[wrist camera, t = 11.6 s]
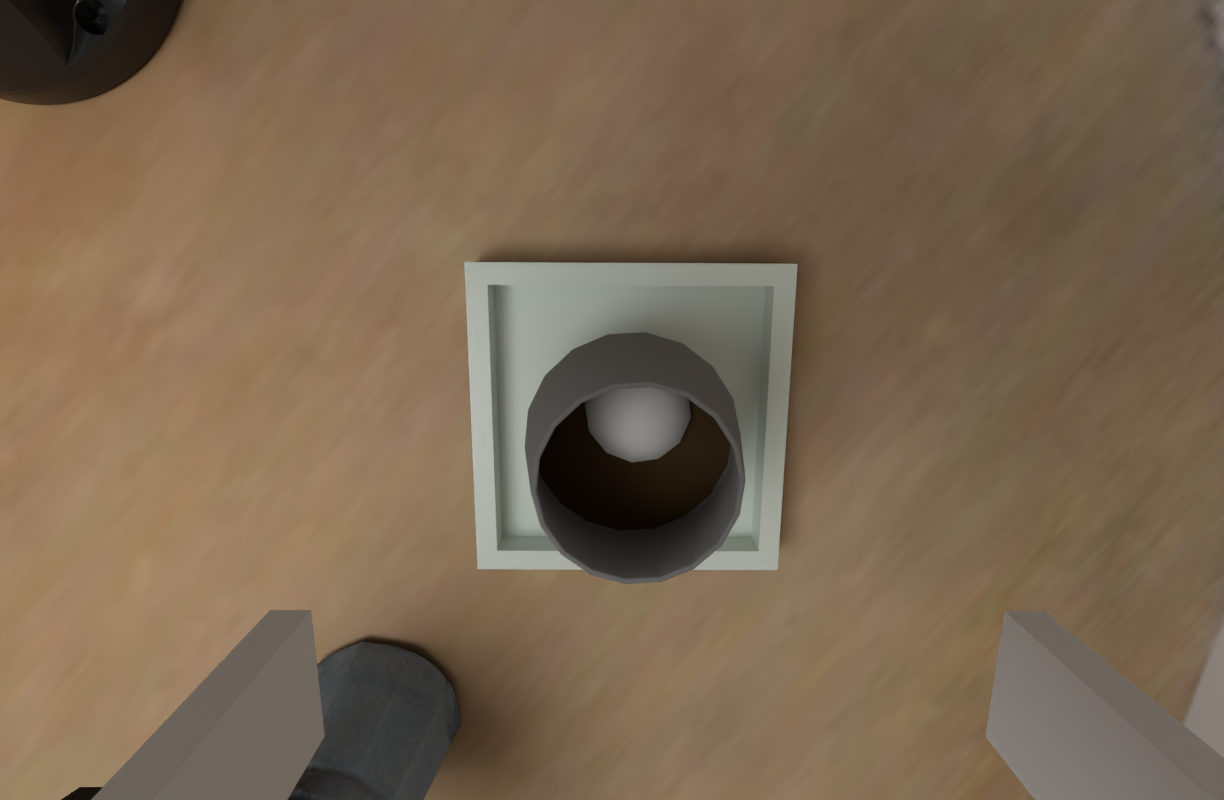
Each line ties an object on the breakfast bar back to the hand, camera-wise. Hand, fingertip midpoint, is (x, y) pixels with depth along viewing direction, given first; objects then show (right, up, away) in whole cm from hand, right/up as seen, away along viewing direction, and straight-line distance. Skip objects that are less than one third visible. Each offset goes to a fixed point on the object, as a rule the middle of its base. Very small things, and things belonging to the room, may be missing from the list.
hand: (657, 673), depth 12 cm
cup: (0, +4, +20) cm, 21 cm away
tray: (0, +5, +21) cm, 22 cm away
